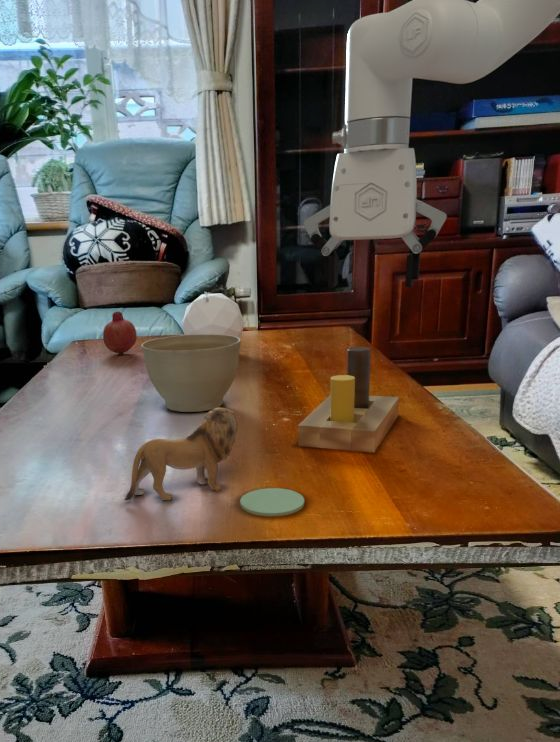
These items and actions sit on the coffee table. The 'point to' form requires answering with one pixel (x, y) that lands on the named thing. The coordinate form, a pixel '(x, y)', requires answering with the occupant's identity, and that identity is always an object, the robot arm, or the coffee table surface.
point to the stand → (349, 426)
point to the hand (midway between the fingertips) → (370, 286)
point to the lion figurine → (187, 453)
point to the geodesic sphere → (213, 316)
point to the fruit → (119, 334)
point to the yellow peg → (342, 398)
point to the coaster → (272, 502)
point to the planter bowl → (192, 369)
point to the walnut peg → (360, 374)
